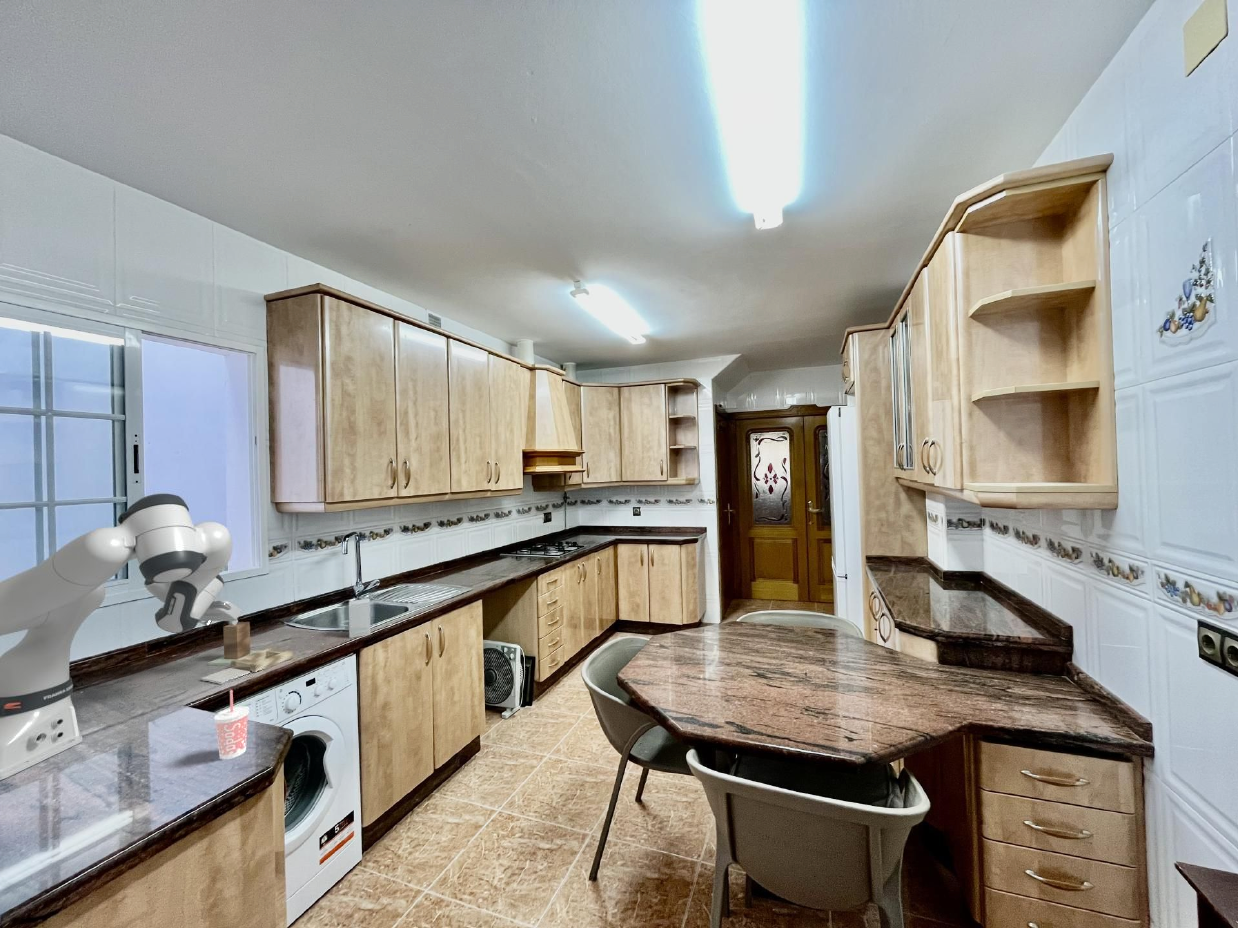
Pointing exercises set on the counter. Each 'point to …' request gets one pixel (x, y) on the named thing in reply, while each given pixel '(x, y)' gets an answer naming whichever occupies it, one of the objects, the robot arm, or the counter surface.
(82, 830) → the counter surface
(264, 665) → the puzzle board
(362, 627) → the supplement box
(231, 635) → the walnut block
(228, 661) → the coaster
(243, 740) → the beverage cup
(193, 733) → the counter surface
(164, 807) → the counter surface
